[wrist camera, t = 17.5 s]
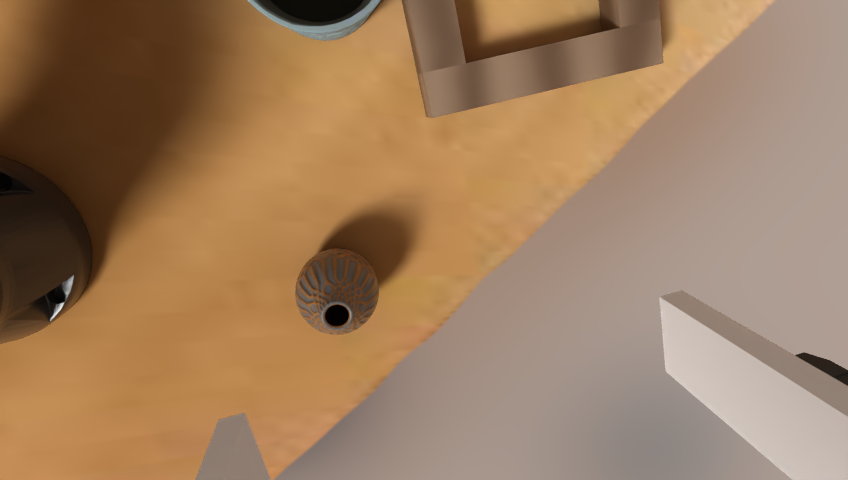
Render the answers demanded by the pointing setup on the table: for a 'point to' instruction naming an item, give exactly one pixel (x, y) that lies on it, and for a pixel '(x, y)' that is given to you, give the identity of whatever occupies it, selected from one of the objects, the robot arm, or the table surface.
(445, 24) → the well board
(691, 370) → the robot arm
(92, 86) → the table surface
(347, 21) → the grey-green cup
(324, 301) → the vase
